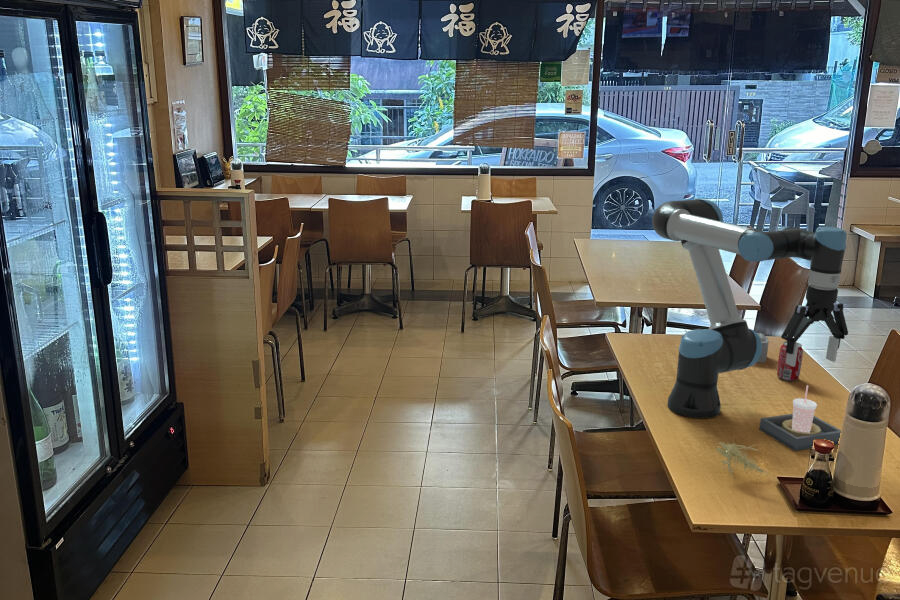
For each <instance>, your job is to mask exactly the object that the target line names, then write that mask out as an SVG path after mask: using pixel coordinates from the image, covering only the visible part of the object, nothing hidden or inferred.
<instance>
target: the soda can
mask: <svg viewBox="0 0 900 600" xmlns="http://www.w3.org/2000/svg"><path fill="white" fill-rule="evenodd" d="M798 343H799V344H798V351H797V357H796V363H795V366H794V367H793V366H790V365H788V364H786V357H787V353H786V347H787V340H785V341H784V342H782V345H781V346H780V348H779V353H778V360H777V361H778V362H777V368H776V375H777V377H778V378H779V379H781V380H782V381H786V382H794V381H796V380H799V378H800V375H801V369H802V362H803V356H804V350H803V348H802V346H803V345H802V344H801V343H800V342H798Z"/></svg>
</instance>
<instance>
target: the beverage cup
mask: <svg viewBox="0 0 900 600" xmlns="http://www.w3.org/2000/svg"><path fill="white" fill-rule="evenodd" d="M808 390H809V385H808V384H807V385H806V387H805V394H804V398H794V399H793V400H792V405H793V407H792V414H793V419H792V429H793V430H796V431H799V432H807V433H810V430H811V425H812V421H813V417H814V416H815V411H816V409H817V406H818V404H817V403H816V401H813V400H811V399H808Z"/></svg>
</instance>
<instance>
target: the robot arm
mask: <svg viewBox="0 0 900 600" xmlns="http://www.w3.org/2000/svg"><path fill="white" fill-rule="evenodd" d="M651 220H652V221H651V224H652V227H653V230H654V231H655V233H656V234H657V235H658V236H659V237H661V238H663V239H665V240H669V241H670V240H671V241H674V242H680V243H681V246H682V248H683V249H684V250H687V251H688V252H689V253H688V254H689V256H690V259H691V263H692V267H693V270H694V273H695V276H696V279H697V280H696V281H697V283H698V285H699V289H700V294H701V296H702V301H703V303H704V306H705V310H706V314H707V316H708V320H709V324H710V325H709V327H708V328H704V329H701V328H696V329H692V330H688V331H686V332H685V333H684V334H683V335H682V336H681V338H680V342H679V346H678V358H677V359H678V360H677V368H676V378H675V379H676V380H675V383H674V384H673V387H672V390H671V391H670V394H669V395H668V398H667V408H668V409H669V410H670V411H671V412H673V413H675V414H677V415H680V416H683V417H686V418H687V417H688V418H692V419H713V418H715V417H717V416H719V415H720V413H721V407H722V406H721V405H722V403H721V399H720V395H719V394H720V393H719V390H718V381H719V380H718V379H719V374H722V373H723V374H724V373H727V372H733V371H738V370H739V371H741V370H745V369H747V368H750V367H752V366H755V364H757V363H758V362H757V361H758V360H759V357H760V356H761V353H762V342H761V339H760V337H759V335H758V334H757V333H758V332H756V331H755V330H753V329H752V328H749V326H748V325H749V324H748V323H747V320H746V319H744V318H742V317H741V316H740V313H739V311H738V308H737V305H736V301H735V298H734V294H733V291H732V288H731V285H730V281H729V278H728V274H727V271H726V268H725V265H724V262H723V258H722V255H721V251H720V250H722V251H724V252H728V253H732V254H737V255H740V256H741V258H743V260H745V261H747V262H756V263H757V262H758V263H759V262H765V261H771V260H772V261H773V260H780V259H790V258H798V259H803V260H807V261H809V262H810V268H809V274H808V279H807V284H808V285H807V286H806V293H805V299H806V304H805V305H801V304H796V305H795V308H794V312H793V314H792V316H791V318H790V319H789V321H788V323H787V325H786V327H785V328H784V331H782V334H781V336H780V338H781V339H782V340H785V341H787V347H786V353H787V357H786V364H788V365H790V366H793V367H794V366H795V363H796V357H797V351H798V344H799V343H800V342H797V341H798V340H799V339H800V338H801V337H802V335H803V334H804V333H805V332H806V331H807V330H808V328H809V327H810V326H811V325H813V324H814V323H816V322H824V323H825V324H826V326H827V328H828V330H829V331H830V333H831V335H829V338H828V341H827V342H828V343H827V348H826V349H827V350H826V355H825V359H826V360H827V361H830V362H833V363H835V362H836V361H837V355H838V350H839V349H840V344H841V340H844V339H845V338H846V337H845V336H848V335H849V330H848V326H847V323H846V318H845V314H844V304H843V303H842V302H839V301H837V299H838V293H839V289H838V288H839V286H840V280H841V276H842V275H841V274H842V266H843V262H844V257H845V253H846V249H847V237H848V235H847V234H848V233H847V231H846V230H845V229H843V228H839V227H832V226H819V227H817V228H816V230H815V232H814V231H810V230H807V229H806V230H805V229H801V228H798V227H795V226H786V225H783V226H780V227H779V228H778V229H776V230H772V231H771V230H767V231H764V230H759V229H754V228H752V227H747V226H746V227H745V226H743V225H738V224H732V223H729V222H724V216H723V213H722V210H721V209H720V207H719V206H718V204H716V203H715V202H714V201H711V200H710V199H703V198H702V199H701V198H694V199H685V200H684V199H682V200H670V201H666V202H663V203H662V204H660V205H659V206H658V207H657V208H656V209H655V211H654V213H653V215H652V219H651Z"/></svg>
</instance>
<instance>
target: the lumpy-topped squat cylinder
mask: <svg viewBox="0 0 900 600" xmlns="http://www.w3.org/2000/svg"><path fill="white" fill-rule="evenodd" d="M756 333H757V334H758V335H759V337H760V339H761V342H762V353H761V356H760V357H759V360H758V361H757V363H765V362H767V358H768V350H769V343H770V342H769V337H768V336H766V335H765V334H763V333H761V332H759V333H758V332H756Z"/></svg>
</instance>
